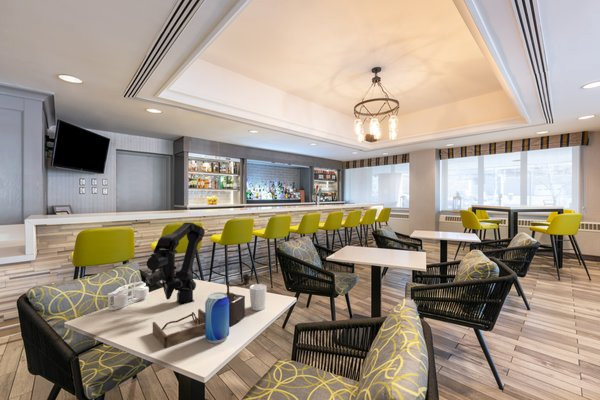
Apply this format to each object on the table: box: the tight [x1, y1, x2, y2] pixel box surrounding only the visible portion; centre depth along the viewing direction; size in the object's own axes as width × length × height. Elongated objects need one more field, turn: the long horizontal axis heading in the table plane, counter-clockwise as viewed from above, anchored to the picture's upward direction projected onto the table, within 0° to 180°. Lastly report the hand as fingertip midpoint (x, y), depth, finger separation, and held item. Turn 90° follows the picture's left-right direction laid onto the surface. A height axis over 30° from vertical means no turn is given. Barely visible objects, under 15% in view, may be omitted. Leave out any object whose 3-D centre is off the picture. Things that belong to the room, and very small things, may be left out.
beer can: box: [204, 292, 230, 344], centre depth 100 cm, size 8×8×16 cm
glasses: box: [161, 311, 203, 331], centre depth 106 cm, size 13×13×5 cm
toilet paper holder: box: [107, 281, 150, 311], centre depth 135 cm, size 20×11×7 cm, turn 157°
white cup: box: [249, 283, 268, 311], centre depth 128 cm, size 8×8×10 cm
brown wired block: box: [152, 308, 205, 349], centre depth 105 cm, size 19×15×4 cm
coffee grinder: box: [225, 273, 252, 328], centre depth 118 cm, size 16×11×18 cm
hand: (168, 299), depth 122 cm, fingers closed
